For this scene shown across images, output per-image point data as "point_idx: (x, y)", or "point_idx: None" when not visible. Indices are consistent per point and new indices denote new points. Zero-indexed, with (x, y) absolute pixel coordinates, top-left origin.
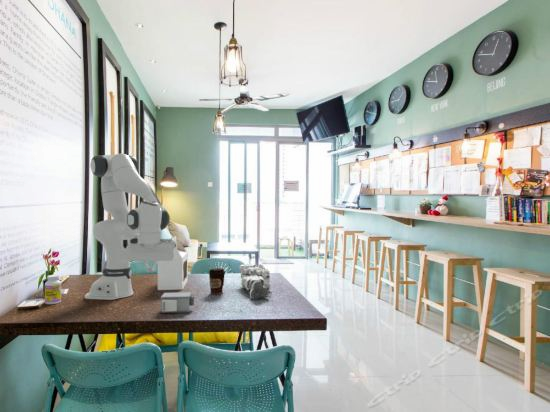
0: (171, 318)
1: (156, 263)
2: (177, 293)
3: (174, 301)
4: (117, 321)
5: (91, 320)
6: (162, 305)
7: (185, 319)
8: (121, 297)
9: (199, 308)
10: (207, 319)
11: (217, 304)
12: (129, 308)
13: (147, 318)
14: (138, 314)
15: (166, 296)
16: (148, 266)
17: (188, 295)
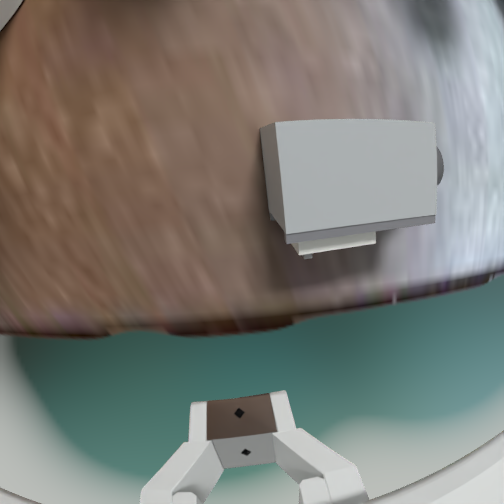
0: (336, 280)
1: (344, 470)
2: (370, 144)
3: (363, 243)
4: (131, 328)
5: (43, 318)
6: (293, 244)
7: (387, 284)
8: (3, 25)
9: None
10: (447, 275)
11: (466, 93)
12: (81, 153)
13: (234, 289)
14: (166, 240)
15: (320, 222)
16: (211, 457)
17: (432, 195)
